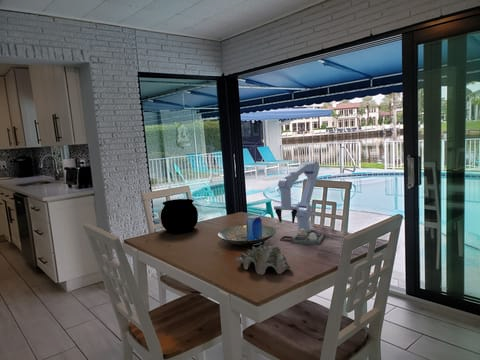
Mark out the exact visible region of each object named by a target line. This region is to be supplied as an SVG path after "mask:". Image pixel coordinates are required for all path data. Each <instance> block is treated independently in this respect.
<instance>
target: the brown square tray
mask: <svg viewBox="0 0 480 360" xmlns="http://www.w3.org/2000/svg"><path fill="white" fill-rule="evenodd" d="M294 237H295V236H293V235H291V236H290V235H283V236H281V237H280V238H279V241H280V242H290V243H291V240H292V239H293V238H294Z"/></svg>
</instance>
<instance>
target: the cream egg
mask: <svg viewBox="0 0 480 360" xmlns="http://www.w3.org/2000/svg"><path fill="white" fill-rule="evenodd" d="M316 234H317V233H315V232H310V235H309V238H308V239H309V240H308V241H317V237H316Z"/></svg>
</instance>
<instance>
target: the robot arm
mask: <svg viewBox="0 0 480 360" xmlns="http://www.w3.org/2000/svg"><path fill="white" fill-rule="evenodd" d="M320 168H321V167H320V165H319V162H318V161H305V160H304V161H302V162H301V163H300V166H299V167H298V168H297V169H296V170H294V171H290V172H289V173H288V174H287V175H285V177H284V178H280V179H279V180H278V183H277V185H278V188H279V192H280V203H281V205H274V206H273V210H274V211H275V212H274V213H275V214H276V216H277V218H278V221H279V223H281V222H283V220H282V218H283V217H282V211H291V212H290V213H291V222H292V224H294V223H295V220H296V223H297V224H296V225H297V226H296V227H297V232H298V233H300V230H301V229H305V230H306V232H307V233H309V232H311V231H312V229H311V220H310V219H311V217H312V214H313V206H312V204H310V202H311V199H312V196H313V193H314V188H315V185H316V180H317V177H318V176H319V172H320ZM302 174H304V175H305V177H306V178H307V179H306V182H305V185H304V188H303V193H302V197H301V198H300V199H301V200H300V201H299V202H298V203H296V206H292V197H291V196H292V192H291V191H292V190H291V189H292V188H293V186H294V183H296V181H298V180H299V176H302Z"/></svg>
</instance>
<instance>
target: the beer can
mask: <svg viewBox="0 0 480 360" xmlns="http://www.w3.org/2000/svg"><path fill="white" fill-rule="evenodd" d="M245 222H246V239H248V240H255V239H260V238H262V239H263V224H262V223H263V222H262V218H261V216H260V215H258V214H254V215H253V214H251V215H247V218H246V221H245ZM262 243H263V242H259V243H256V244H253V245H252V246H256V245H262Z"/></svg>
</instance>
